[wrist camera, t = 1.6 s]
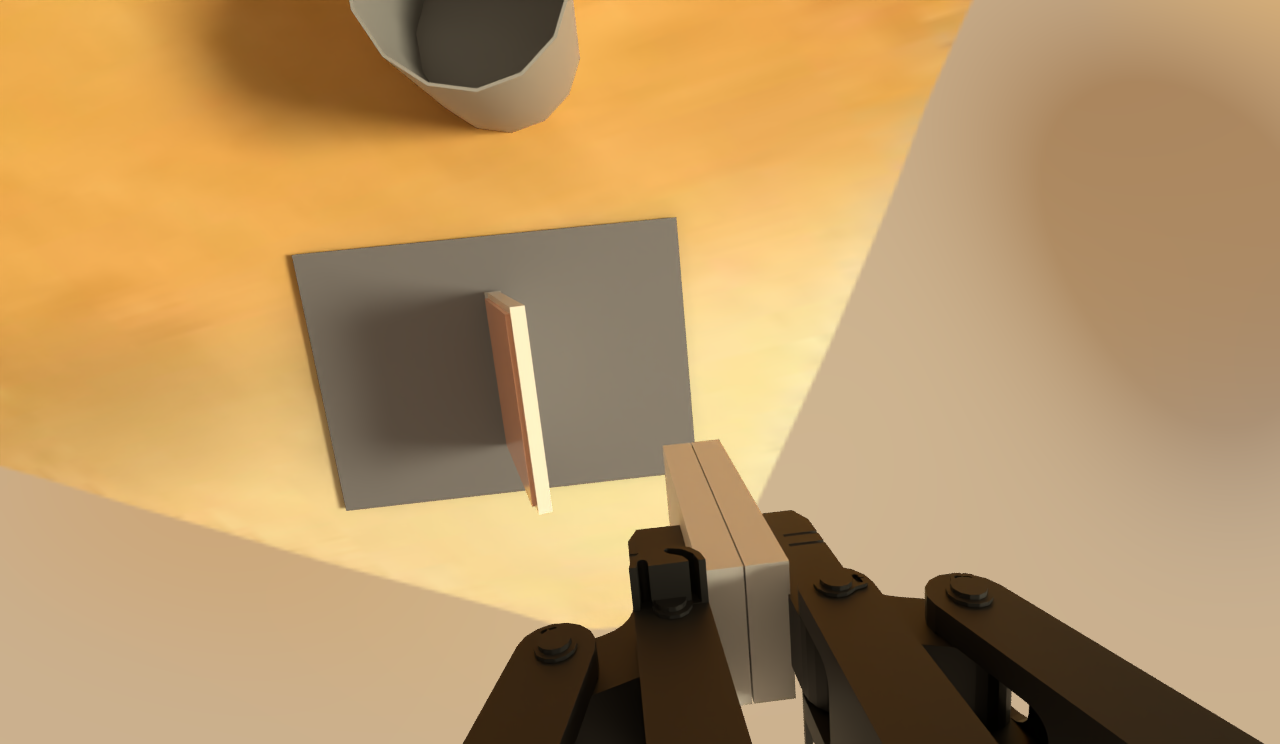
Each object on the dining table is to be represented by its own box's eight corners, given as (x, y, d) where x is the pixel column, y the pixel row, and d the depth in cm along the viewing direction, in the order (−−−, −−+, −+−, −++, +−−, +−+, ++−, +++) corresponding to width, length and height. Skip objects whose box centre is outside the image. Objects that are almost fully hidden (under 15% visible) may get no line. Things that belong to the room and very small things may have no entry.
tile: (528, 304, 26) (504, 308, 25) (556, 510, 27) (534, 515, 27) (499, 290, 35) (482, 292, 35) (521, 442, 37) (505, 446, 37)
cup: (414, 120, 34) (338, 73, 24) (420, -52, 32) (341, -177, 22) (573, 140, 34) (562, 103, 25) (587, -27, 33) (581, -138, 23)
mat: (296, 254, 35) (291, 254, 34) (675, 217, 36) (676, 217, 35) (349, 507, 38) (346, 510, 37) (695, 467, 39) (696, 470, 38)
